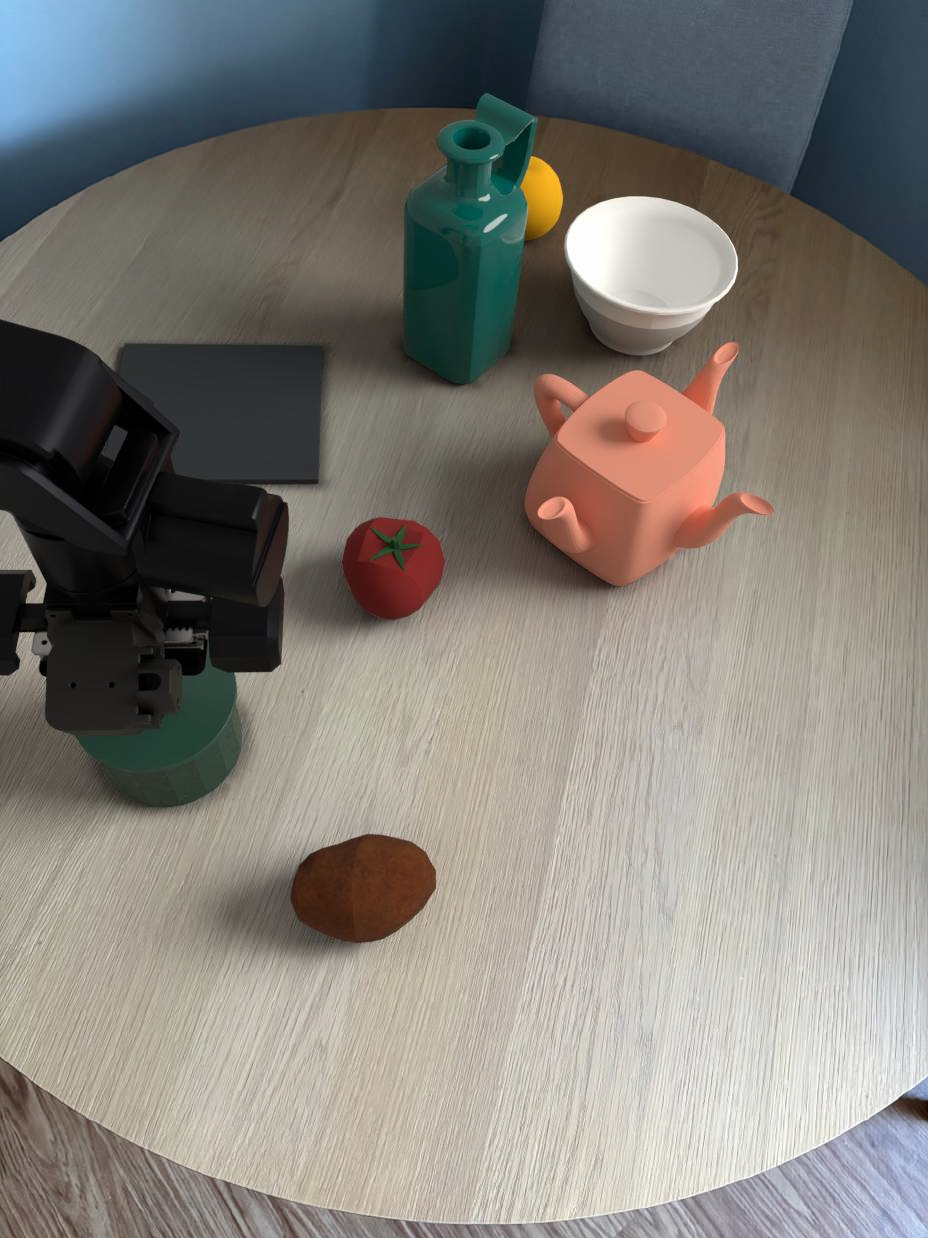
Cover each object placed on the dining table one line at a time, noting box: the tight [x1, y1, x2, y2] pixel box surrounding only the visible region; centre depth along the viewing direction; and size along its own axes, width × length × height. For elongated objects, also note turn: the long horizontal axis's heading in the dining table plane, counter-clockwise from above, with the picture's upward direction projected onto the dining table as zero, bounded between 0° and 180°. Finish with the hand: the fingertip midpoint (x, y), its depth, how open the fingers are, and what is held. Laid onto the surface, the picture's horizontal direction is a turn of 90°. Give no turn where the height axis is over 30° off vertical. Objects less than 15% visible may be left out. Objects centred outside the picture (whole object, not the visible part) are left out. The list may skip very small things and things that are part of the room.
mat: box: [105, 342, 324, 485], centre depth 93 cm, size 18×16×1 cm
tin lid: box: [74, 644, 238, 773], centre depth 68 cm, size 11×11×6 cm
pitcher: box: [402, 92, 539, 385], centre depth 90 cm, size 10×8×22 cm
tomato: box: [340, 516, 446, 621], centre depth 81 cm, size 8×8×7 cm
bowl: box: [563, 195, 739, 356], centre depth 99 cm, size 16×16×9 cm
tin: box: [96, 705, 243, 808], centre depth 73 cm, size 10×10×7 cm
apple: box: [520, 155, 564, 241], centre depth 106 cm, size 8×8×8 cm
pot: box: [524, 341, 775, 587], centre depth 84 cm, size 18×17×12 cm
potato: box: [289, 833, 437, 944], centre depth 68 cm, size 7×9×6 cm
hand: (149, 686), depth 69 cm, fingers closed on tin lid, 2 cm apart
